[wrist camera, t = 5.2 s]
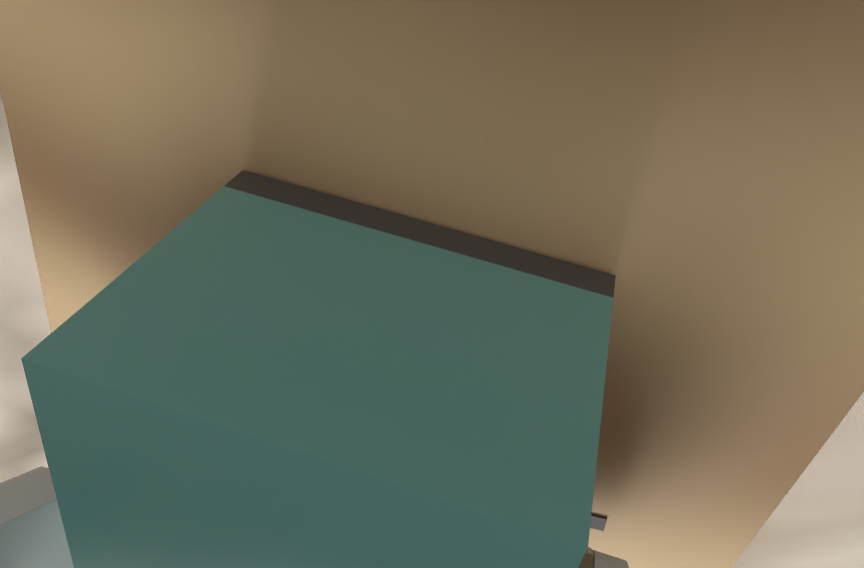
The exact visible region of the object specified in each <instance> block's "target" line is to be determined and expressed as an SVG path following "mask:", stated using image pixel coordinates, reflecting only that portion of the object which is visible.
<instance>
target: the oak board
mask: <svg viewBox="0 0 864 568" xmlns="http://www.w3.org/2000/svg"><path fill="white" fill-rule="evenodd" d="M0 89H1V94H2V98H3V103H4V108H5V113H6V118H7V122H8V127H9V132H10V137H11V142H12V146H13V151H14V156H15V161H16V166H17V170H18V175H19V180H20V185H21V190H22V194H23V199H24V204H25V209H26V214H27V218H28V223H29V228H30V233H31V238H32V242H33V247H34V252H35V257H36V262H37V267H38V271H39V276H40V281H41V286H42V291H43V295H44V300H45V305H46V310H47V315H48V319H49V324H50V329H51V333H52V332H53V331H54V330H56V329H57V328H58V327H59V326H60V325H62V324H63V323H64V322H65V321H66V320H67V319H69V318H70V317H71V316H72V315H73V314H74V313H76V312H77V311H78V310H79V309H80V308H81V307H83V306H84V305H85V304H86V303H87V302H88V301H90V300H91V299H92V298H93V297H94V296H96V295H97V294H98V293H99V292H100V291H101V290H103V289H104V288H105V287H106V286H107V285H108V284H110V283H111V282H112V281H113V280H114V279H115V278H117V277H118V276H119V275H120V274H121V273H123V272H124V271H125V270H126V269H127V268H128V267H130V266H131V265H132V264H133V263H134V262H135V261H137V260H138V259H139V258H140V257H141V256H142V255H144V254H145V253H146V252H147V251H148V250H149V249H151V248H152V247H153V246H154V245H155V244H157V243H158V242H159V241H160V240H161V239H162V238H164V237H165V236H166V235H167V234H168V233H169V232H171V231H172V230H173V229H174V228H175V227H176V226H178V225H179V224H180V223H181V222H182V221H184V220H185V219H186V218H187V217H188V216H189V215H191V214H192V213H193V212H194V211H195V210H196V209H198V208H199V207H200V206H201V205H202V204H203V203H205V202H206V201H207V200H208V199H209V198H210V197H212V196H213V195H214V194H215V193H216V192H218V191H219V190H220V189H221V188H222V187H223V186H225V185H226V184H227V183H228V182H229V181H230V180H232V179H233V178H234V177H235V176H236V175H237V174H239V173H240V172H241V171H242V170H244V171H248V172H251V173H255V174H259V175H262V176H266V177H269V178H273V179H276V180H280V181H283V182H287V183H290V184H294V185H297V186H301V187H305V188H308V189H312V190H315V191H319V192H322V193H326V194H329V195H333V196H336V197H340V198H343V199H347V200H351V201H354V202H358V203H361V204H365V205H368V206H372V207H375V208H379V209H382V210H386V211H389V212H393V213H397V214H400V215H404V216H407V217H411V218H414V219H418V220H421V221H425V222H428V223H432V224H435V225H439V226H443V227H446V228H450V229H453V230H457V231H460V232H464V233H467V234H471V235H474V236H478V237H481V238H485V239H489V240H492V241H496V242H499V243H503V244H506V245H510V246H513V247H517V248H520V249H524V250H527V251H531V252H535V253H538V254H542V255H545V256H549V257H552V258H556V259H559V260H563V261H566V262H570V263H573V264H577V265H581V266H584V267H588V268H591V269H595V270H598V271H602V272H605V273H609V274H612V275H616V277H615V287H614V297H613V307H612V317H611V327H610V336H609V346H608V356H607V366H606V376H605V386H604V395H603V405H602V415H601V425H600V435H599V445H598V454H597V464H596V474H595V484H594V494H593V504H592V513H591V523H590V533H589V543H588V547H590V548H592V550H596V551H599V552H602V553H605V554H608V555H612V556H615V557H618V558H621V559H624V560H626V561H627V563H628V566H629V568H731V567H732V566H733V564H734V563H735V562H736V560H737V559H738V558H739V556H740V555H741V554H742V552H743V551H744V550H745V548H746V547H747V546H748V544H749V543H750V542H751V540H752V539H753V538H754V536H755V535H756V534H757V532H758V531H759V530H760V528H761V527H762V526H763V524H764V523H765V522H766V520H767V519H768V518H769V517H770V515H771V514H772V513H773V511H774V510H775V509H776V507H777V506H778V505H779V503H780V502H781V501H782V499H783V498H784V497H785V495H786V494H787V493H788V491H789V490H790V489H791V487H792V486H793V485H794V483H795V482H796V481H797V479H798V478H799V477H800V475H801V474H802V473H803V471H804V470H805V469H806V467H807V466H808V465H809V463H810V462H811V461H812V459H813V458H814V457H815V455H816V454H817V453H818V451H819V450H820V449H821V447H822V446H823V445H824V443H825V442H826V441H827V440H828V438H829V437H830V436H831V434H832V433H833V432H834V430H835V429H836V428H837V426H838V425H839V424H840V422H841V421H842V420H843V418H844V417H845V416H846V414H847V413H848V412H849V410H850V409H851V408H852V406H853V405H854V404H855V402H856V401H857V400H858V398H859V397H860V396H861V394H862V393H863V392H864V0H0Z"/></svg>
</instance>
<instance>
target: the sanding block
mask: <svg viewBox="0 0 864 568" xmlns="http://www.w3.org/2000/svg"><path fill="white" fill-rule="evenodd" d="M615 277H616V275H612V274H609V273H605V272H602V271H598V270H595V269H591V268H588V267H584V266H581V265H577V264H573V263H570V262H566V261H563V260H559V259H556V258H552V257H549V256H545V255H542V254H538V253H535V252H531V251H527V250H524V249H520V248H517V247H513V246H510V245H506V244H503V243H499V242H496V241H492V240H489V239H485V238H481V237H478V236H474V235H471V234H467V233H464V232H460V231H457V230H453V229H450V228H446V227H443V226H439V225H435V224H432V223H428V222H425V221H421V220H418V219H414V218H411V217H407V216H404V215H400V214H397V213H393V212H389V211H386V210H382V209H379V208H375V207H372V206H368V205H365V204H361V203H358V202H354V201H351V200H347V199H343V198H340V197H336V196H333V195H329V194H326V193H322V192H319V191H315V190H312V189H308V188H305V187H301V186H297V185H294V184H290V183H287V182H283V181H280V180H276V179H273V178H269V177H266V176H262V175H259V174H255V173H251V172H248V171H244V170H242V171H241V172H240V173H239V174H237V175H236V176H235V177H234V178H233V179H232V180H230V181H229V182H228V183H227V184H226V185H225V186H223V187H222V188H221V189H220V190H219V191H218V192H216V193H215V194H214V195H213V196H212V197H210V198H209V199H208V200H207V201H206V202H205V203H203V204H202V205H201V206H200V207H199V208H198V209H196V210H195V211H194V212H193V213H192V214H191V215H189V216H188V217H187V218H186V219H185V220H184V221H182V222H181V223H180V224H179V225H178V226H176V227H175V228H174V229H173V230H172V231H171V232H169V233H168V234H167V235H166V236H165V237H164V238H162V239H161V240H160V241H159V242H158V243H157V244H155V245H154V246H153V247H152V248H151V249H149V250H148V251H147V252H146V253H145V254H144V255H142V256H141V257H140V258H139V259H138V260H137V261H135V262H134V263H133V264H132V265H131V266H130V267H128V268H127V269H126V270H125V271H124V272H123V273H121V274H120V275H119V276H118V277H117V278H115V279H114V280H113V281H112V282H111V283H110V284H108V285H107V286H106V287H105V288H104V289H103V290H101V291H100V292H99V293H98V294H97V295H96V296H94V297H93V298H92V299H91V300H90V301H88V302H87V303H86V304H85V305H84V306H83V307H81V308H80V309H79V310H78V311H77V312H76V313H74V314H73V315H72V316H71V317H70V318H69V319H67V320H66V321H65V322H64V323H63V324H62V325H60V326H59V327H58V328H57V329H56V330H54V331H53V332H52V333H51V334H50V335H49V336H47V337H46V338H45V339H44V340H43V341H42V342H40V343H39V344H38V345H37V346H36V347H35V348H33V349H32V350H31V351H30V352H29V353H27V354H26V355H25V356H24V357H23V358H22V363H23V367H24V371H25V375H26V379H27V383H28V387H29V391H30V395H31V399H32V403H33V407H34V411H35V415H36V419H37V423H38V427H39V431H40V435H41V439H42V443H43V447H44V451H45V455H46V459H47V463H48V467H49V471H50V475H51V479H52V483H53V487H54V491H55V495H56V499H57V503H58V507H59V511H60V514H61V518H62V522H63V526H64V530H65V534H66V538H67V542H68V546H69V550H70V554H71V558H72V562H73V566H74V568H578V567H579V565H580V563H581V561H582V559H583V557H584V555H585V553H586V551H587V549H588V543H589V533H590V523H591V513H592V504H593V494H594V484H595V474H596V464H597V454H598V445H599V435H600V425H601V415H602V405H603V395H604V386H605V376H606V366H607V356H608V346H609V336H610V327H611V317H612V307H613V297H614V287H615Z"/></svg>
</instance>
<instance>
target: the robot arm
mask: <svg viewBox="0 0 864 568" xmlns="http://www.w3.org/2000/svg"><path fill="white" fill-rule="evenodd" d="M0 568H74V566H73V562H72V558H71V554H70V550H69V546H68V542H67V538H66V534H65V530H64V526H63V522H62V518H61V514H60V511H59V507H58V503H57V499H56V495H55V491H54V487H53V483H52V479H51V475H50V471H49V468H45V467H42V466H41V467H38V468H36V469H33V470H31V471H29V472H26V473H24V474H21V475H19V476H17V477H14V478H12V479H9V480H7V481H5V482H2V483H0ZM578 568H629V566H628V563H627V561H626V560H624V559H621V558H618V557H615V556H612V555H608V554H605V553H602V552H599V551H596V550H592V548H590V547H588V549H587V551H586V553H585V555H584V557H583V559H582V561H581V563H580V565H579V567H578Z"/></svg>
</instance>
